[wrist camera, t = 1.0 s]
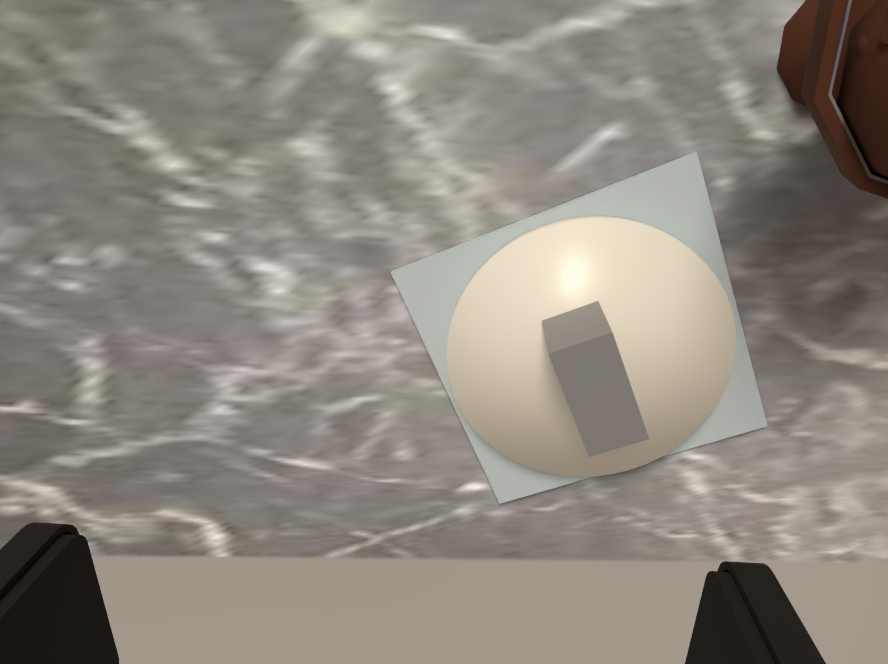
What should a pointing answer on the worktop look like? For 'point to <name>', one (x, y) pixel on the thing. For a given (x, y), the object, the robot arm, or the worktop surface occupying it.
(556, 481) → the mat
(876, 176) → the ice cream bowl
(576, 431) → the lid
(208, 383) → the worktop surface
